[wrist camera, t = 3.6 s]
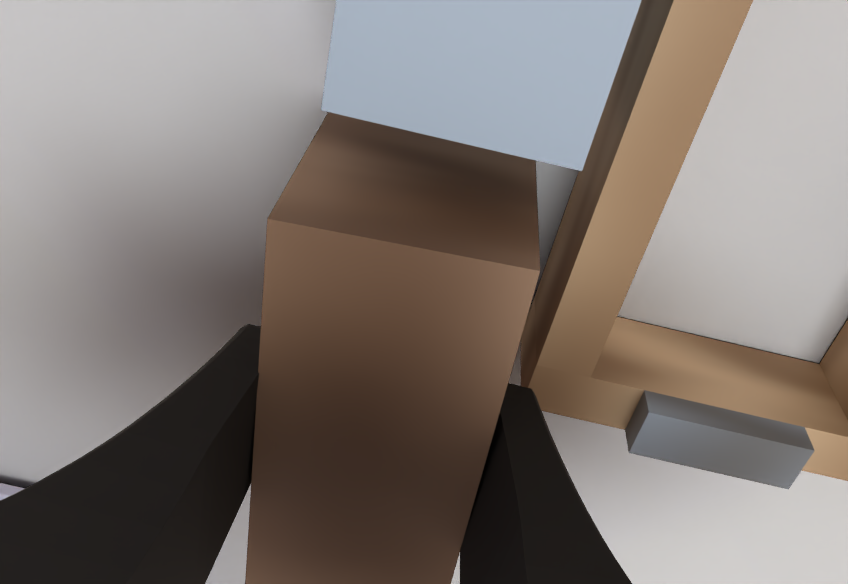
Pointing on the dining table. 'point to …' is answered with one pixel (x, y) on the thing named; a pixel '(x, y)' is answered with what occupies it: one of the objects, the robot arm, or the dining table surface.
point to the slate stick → (481, 70)
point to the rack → (615, 269)
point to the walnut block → (384, 352)
